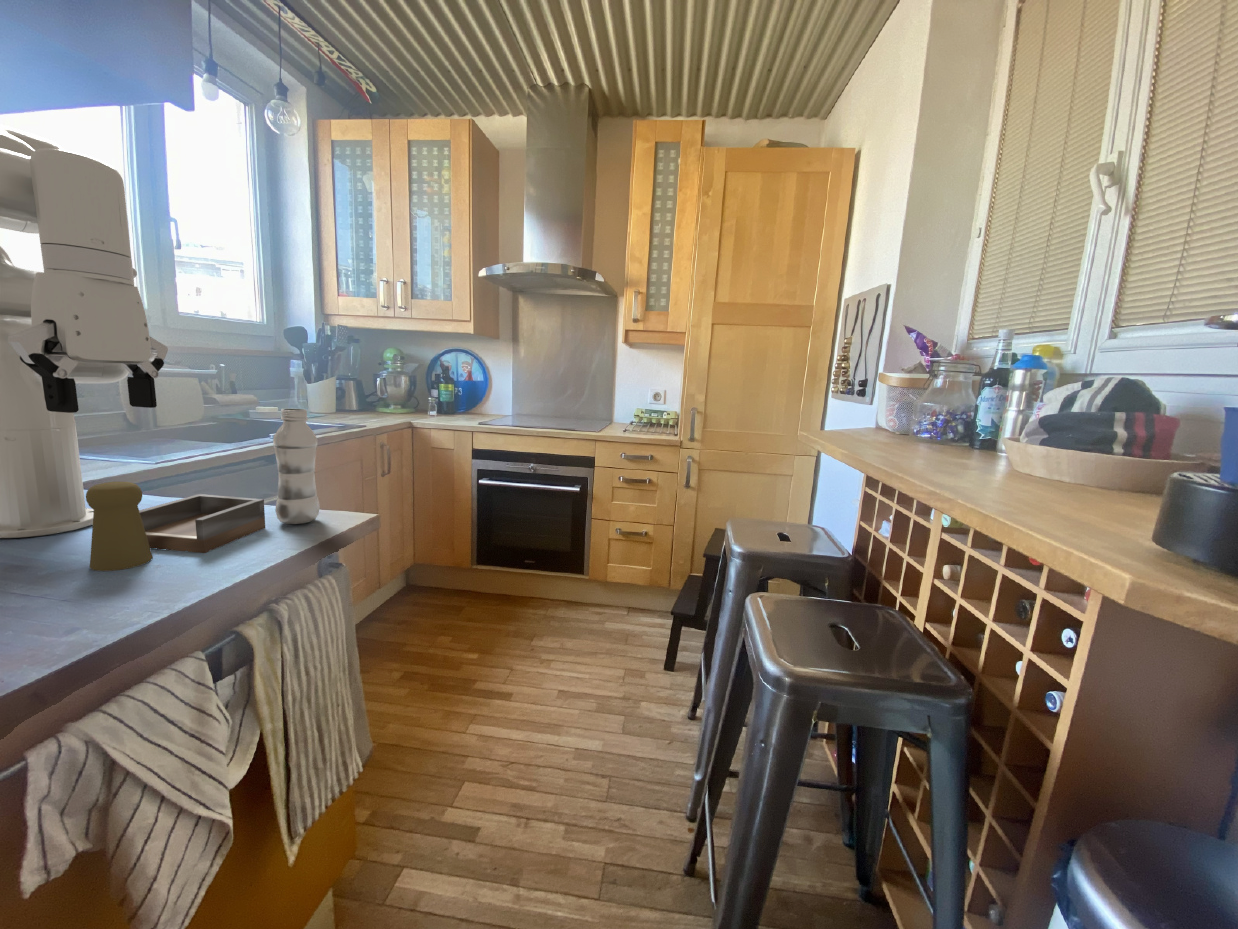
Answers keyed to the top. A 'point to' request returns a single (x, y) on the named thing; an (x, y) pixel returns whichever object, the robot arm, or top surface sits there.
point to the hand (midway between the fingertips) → (106, 409)
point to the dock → (202, 522)
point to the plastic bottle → (296, 468)
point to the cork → (117, 527)
